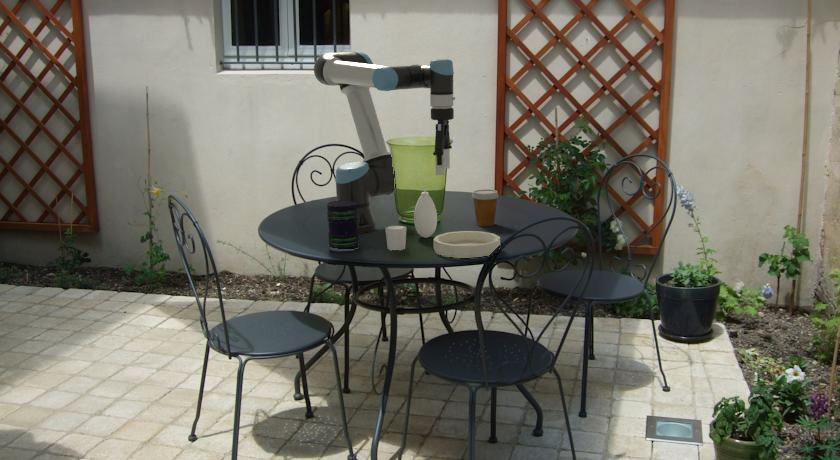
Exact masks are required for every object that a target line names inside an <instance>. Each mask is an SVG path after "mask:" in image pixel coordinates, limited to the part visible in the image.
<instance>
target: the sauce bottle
mask: <svg viewBox="0 0 840 460" xmlns="http://www.w3.org/2000/svg"><path fill="white" fill-rule="evenodd" d="M423 187H424V188H423V192H421V193H420V196H419V198H418V199H417V201H416V204H415V207H414V213H413V222H414V227H415V230H416V232H417V234H418V235H420V236H421V237H422V238H425V239H427V238H429V237H431V236H432V235H433V234H435V231H436V230H437V225H438V214H437V209H436V208H437V207H436V206H435V203H434V201H433V198H432V197H431V195H430V193H429V192H428V191H426V184H424V185H423Z"/></svg>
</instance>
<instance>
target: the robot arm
mask: <svg viewBox="0 0 840 460" xmlns="http://www.w3.org/2000/svg"><path fill="white" fill-rule="evenodd" d="M429 63H430V64H429V65H426V64H409V65H403V66H402V65H400V66H397V65H396V66H391V65H390V66H389V65H388V66H387V65H380V64H379V65H378V64H374V63H373V61H372V59H371V58H370V56H369V55H368V54H366V53H364V52H363V51H353V50H352V51H345V52H344V51H343V52H342V51H341V52H327V53H324V54H322V55H320V56H319V57H318V58H317V59H316V60H315V62H314V65H313V73H314V77H315V79H317V81H318V82H320V83H321V84H322V85H324V86H332V87H333V86H339V88H340V92H341V94H343V95H345V96H346V98H347V101H348V104H349V105H348V106H349V110H350V113H351V115H352V119H353V122H354V125H355V126H354V127H355V130H356V133H357V136H358V140H359V144H360V146H361V150H362V154H363V160H362V161H354V162H347V163H343V164H342V165H339V166H338V167H337V168H336V169H335V179H334V180H335V181H334V182H335V188H336V192H335V194H336V201H355V202H357V210H358V214H357V215H358V220H357V229H358V232H359V234H364V233H369V232H372V231H375V230H376V226H377V225H376V224H377V223H376V220H375V218H374V214H373V212H372V209H371V203H370V202H371V200H370V199H371V198H374V197H380V196H381V197H382V196H390V195H393V194H395V191H394V178H395V171H394V174H393V167H392V157H391V154H392V153H391V152H390V151H388V150H387V149H388V148H387V145H386V142H385V139H384V135H383V132H382V128H381V125H380V121H379V118H378V115H377V112H376V111H377V110H376V109H375V105H374V101H373V98H372V94H371V91H370V88H375V89H377V91H382V92H391V91H396V90H410V89H411V90H413V89H430V90H429V91H430V93H429V94H430V95H429V96H430V99H429V100H430V107H431V108H430V119H431V120H433V121H437V124H436V123H435V140H434V151H433V153H432V154H433V156H435V176H445V169H450V167H451V165H450V164H451V163H450V159H451V158H450V155H451V154H450V150H451V149H452V147H453V146H452V145H451V139H450V125H449V124H450V121H451V120H453V119H454V118H455V117H454V111H455V110H454V107H453V106H454V101H455V100H456V97H455V96H454V73H455V72H454V63H453V61H452V60H451V59H450V58H449V59H447V58H446V59H442V58H441V59H440V58H439V59H438V58H437V59H431V60H430V61H429ZM395 190H396V184H395Z"/></svg>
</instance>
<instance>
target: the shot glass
mask: <svg viewBox="0 0 840 460" xmlns="http://www.w3.org/2000/svg"><path fill="white" fill-rule="evenodd" d="M384 229H385V237H386V238H385V239H386V246H387V250H388V249H389V250H388V251H392V250H399V251H403V249H404V250H405V249H406V241H407V229H408V227H407V226H405V225H388V226H386V227H385V228H384Z"/></svg>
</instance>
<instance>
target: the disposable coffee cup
mask: <svg viewBox="0 0 840 460" xmlns="http://www.w3.org/2000/svg"><path fill="white" fill-rule="evenodd" d="M471 197H472V198H473V199H472V200H473V205H474V206H473V208H474V213H475V221H476V222H475V223H476V225H477V226H479V227H492V226H495V221H496V213H497V212H496V211H497V203H498V198H499V193H498V190H496V189H477V190H473V191H472V194H471Z"/></svg>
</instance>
